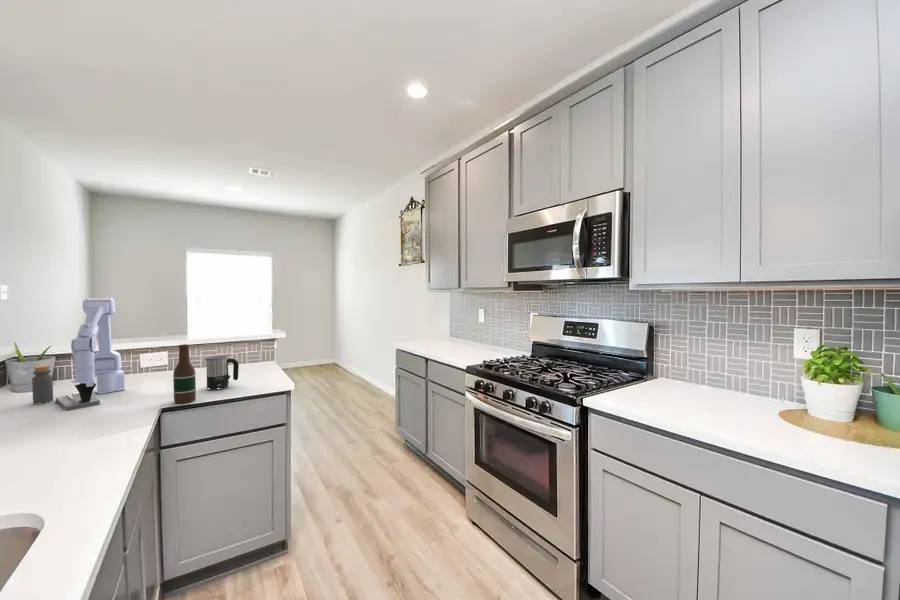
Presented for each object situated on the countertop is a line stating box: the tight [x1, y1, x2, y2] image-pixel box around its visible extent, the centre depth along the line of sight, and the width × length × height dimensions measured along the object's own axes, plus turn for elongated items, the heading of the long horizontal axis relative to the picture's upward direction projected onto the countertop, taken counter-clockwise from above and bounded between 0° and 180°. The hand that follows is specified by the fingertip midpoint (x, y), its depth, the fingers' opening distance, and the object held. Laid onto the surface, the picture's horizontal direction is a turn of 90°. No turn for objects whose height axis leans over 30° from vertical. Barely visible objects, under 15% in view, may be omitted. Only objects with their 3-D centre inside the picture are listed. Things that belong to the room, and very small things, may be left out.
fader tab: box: [71, 390, 82, 402], centre depth 159 cm, size 4×4×4 cm
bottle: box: [31, 364, 54, 405], centre depth 163 cm, size 6×6×15 cm
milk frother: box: [204, 355, 240, 389], centre depth 191 cm, size 14×16×15 cm
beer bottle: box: [172, 344, 197, 405], centre depth 165 cm, size 8×8×24 cm
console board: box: [55, 393, 101, 411], centre depth 163 cm, size 10×19×2 cm, turn 54°
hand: (86, 401), depth 155 cm, fingers closed
